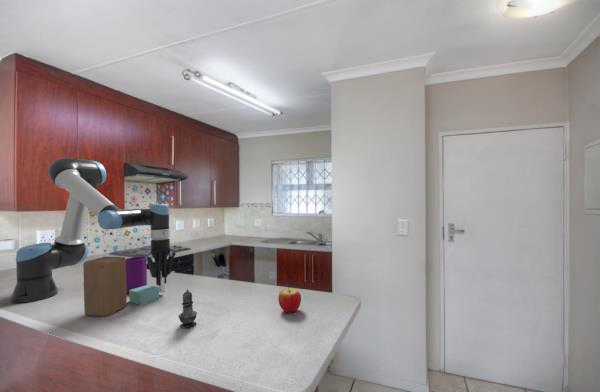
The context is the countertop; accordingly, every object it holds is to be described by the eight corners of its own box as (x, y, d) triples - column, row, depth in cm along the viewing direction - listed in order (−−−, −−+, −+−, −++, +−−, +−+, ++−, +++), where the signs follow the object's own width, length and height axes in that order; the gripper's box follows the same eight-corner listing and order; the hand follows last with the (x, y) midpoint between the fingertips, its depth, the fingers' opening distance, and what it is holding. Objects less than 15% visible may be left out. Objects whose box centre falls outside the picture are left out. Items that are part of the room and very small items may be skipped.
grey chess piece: (186, 331, 90) (185, 293, 90) (174, 326, 93) (173, 290, 93) (201, 323, 95) (200, 287, 95) (190, 320, 98) (189, 285, 98)
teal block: (129, 302, 118) (129, 290, 118) (148, 296, 125) (147, 284, 125) (140, 305, 114) (139, 293, 114) (159, 299, 121) (158, 287, 121)
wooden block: (105, 317, 102) (104, 262, 103) (83, 315, 104) (81, 261, 105) (127, 306, 112) (126, 256, 112) (106, 305, 114) (105, 256, 114)
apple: (290, 304, 110) (289, 279, 110) (306, 310, 104) (305, 283, 104) (274, 311, 104) (273, 284, 104) (289, 317, 98) (288, 288, 98)
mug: (134, 294, 127) (133, 261, 127) (110, 291, 133) (109, 259, 133) (151, 288, 135) (150, 256, 135) (128, 285, 141) (128, 255, 141)
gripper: (149, 241, 118) (150, 298, 118) (178, 237, 129) (180, 289, 128) (141, 240, 123) (142, 294, 122) (170, 236, 133) (171, 286, 133)
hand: (161, 291), depth 125 cm, fingers closed
